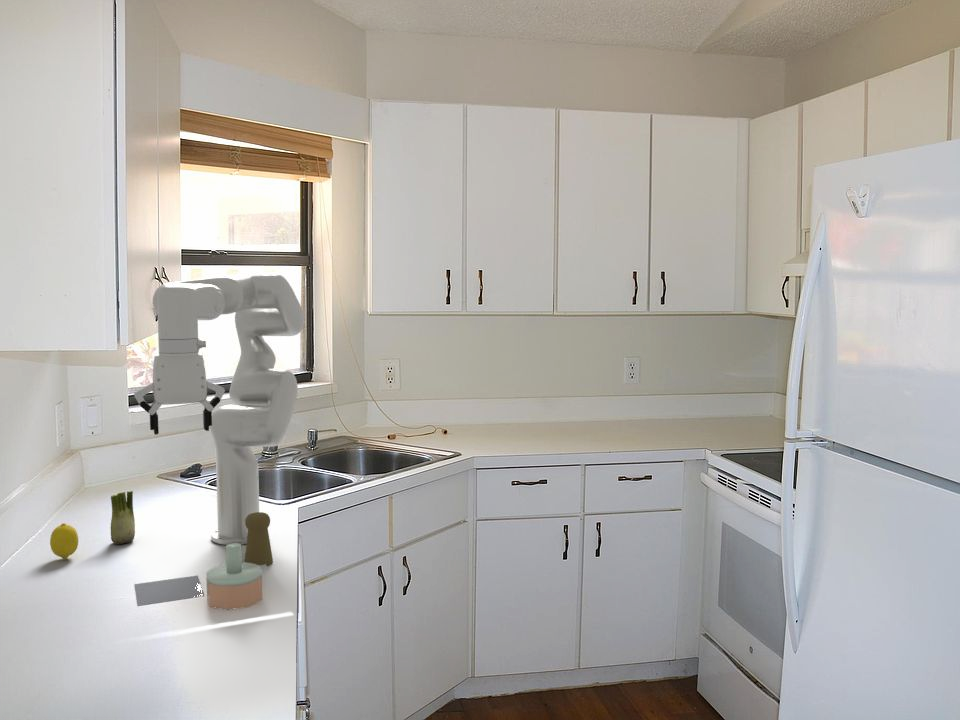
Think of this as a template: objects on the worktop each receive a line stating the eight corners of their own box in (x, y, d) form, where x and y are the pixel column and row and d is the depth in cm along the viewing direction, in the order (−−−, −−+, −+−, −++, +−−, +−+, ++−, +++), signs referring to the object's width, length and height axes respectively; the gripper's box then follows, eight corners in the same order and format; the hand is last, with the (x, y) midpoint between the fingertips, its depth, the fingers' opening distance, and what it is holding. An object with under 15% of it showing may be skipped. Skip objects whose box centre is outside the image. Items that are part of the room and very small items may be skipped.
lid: (203, 571, 162) (202, 541, 162) (256, 564, 167) (255, 534, 166) (210, 589, 153) (209, 557, 153) (266, 581, 158) (265, 549, 157)
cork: (244, 569, 178) (242, 518, 177) (244, 559, 184) (242, 510, 183) (273, 566, 180) (272, 516, 179) (272, 557, 186) (271, 508, 184)
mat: (134, 587, 168) (134, 584, 168) (197, 578, 173) (197, 575, 173) (137, 608, 157) (137, 605, 157) (204, 598, 162) (204, 595, 162)
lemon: (71, 553, 188) (70, 518, 187) (83, 558, 185) (82, 522, 184) (46, 559, 184) (44, 523, 183) (58, 565, 180) (56, 528, 180)
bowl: (205, 597, 163) (204, 571, 162) (256, 589, 167) (255, 564, 166) (211, 615, 154) (211, 588, 154) (265, 606, 158) (264, 581, 158)
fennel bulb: (133, 537, 199) (131, 488, 198) (139, 543, 195) (137, 492, 194) (107, 542, 196) (105, 491, 195) (112, 547, 192) (110, 496, 191)
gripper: (220, 344, 176) (223, 425, 178) (131, 347, 169) (134, 431, 171) (226, 347, 169) (228, 431, 171) (132, 350, 162) (136, 438, 164)
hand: (181, 431), depth 171 cm, fingers open, 9 cm apart
